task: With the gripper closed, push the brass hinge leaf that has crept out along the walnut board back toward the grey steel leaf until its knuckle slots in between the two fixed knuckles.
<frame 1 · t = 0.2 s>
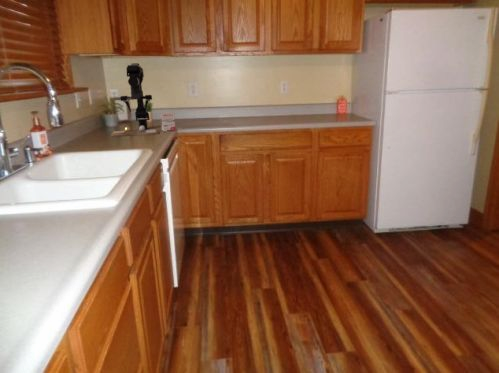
hand: (138, 111, 238), 14 cm above the countertop, tool pointing down, fingers open, 9 cm apart
hinge board: (136, 134, 244), on the countertop
loose leaf: (121, 130, 242), point 3 cm above the countertop, slide at 9.0 cm
ink box: (168, 130, 256), on the countertop
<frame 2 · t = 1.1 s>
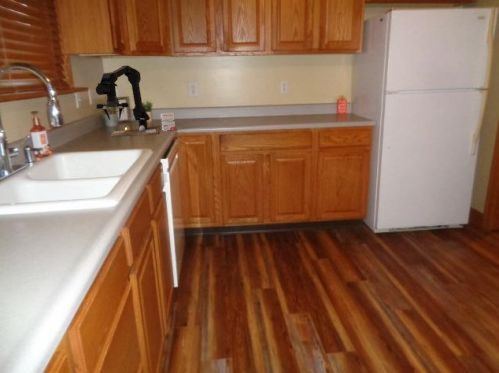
hand: (114, 119, 239), 10 cm above the countertop, tool pointing down, fingers open, 6 cm apart
nothing on the countertop moved.
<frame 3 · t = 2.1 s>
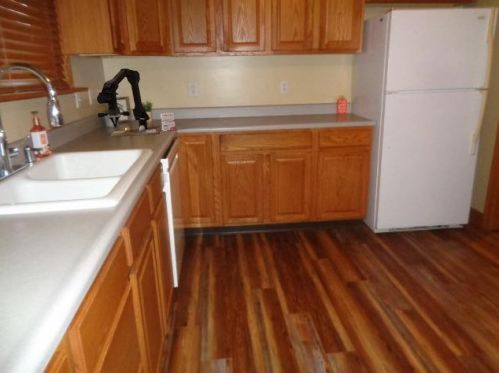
hand: (115, 127, 240), 5 cm above the countertop, tool pointing down, fingers closed
nothing on the countertop moved.
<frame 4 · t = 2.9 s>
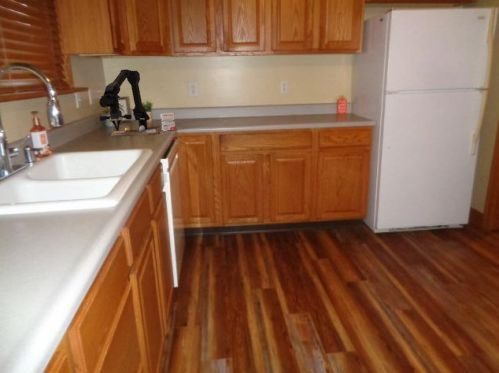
hand: (117, 131, 241), 3 cm above the countertop, tool pointing down, fingers closed
nothing on the countertop moved.
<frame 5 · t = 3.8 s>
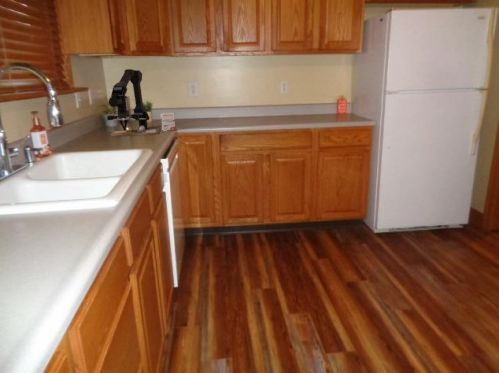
hand: (124, 130, 242), 3 cm above the countertop, tool pointing down, fingers closed
loose leaf: (123, 130, 242), point 3 cm above the countertop, slide at 8.1 cm, touching gripper
everything else where it was.
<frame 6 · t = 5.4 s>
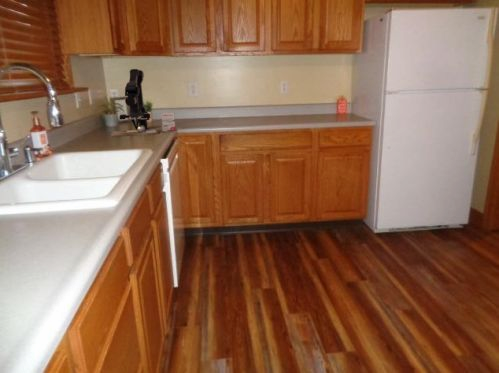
hand: (136, 129, 244), 3 cm above the countertop, tool pointing down, fingers closed
loose leaf: (135, 129, 243), point 3 cm above the countertop, slide at 0.9 cm, touching gripper
everything else where it was.
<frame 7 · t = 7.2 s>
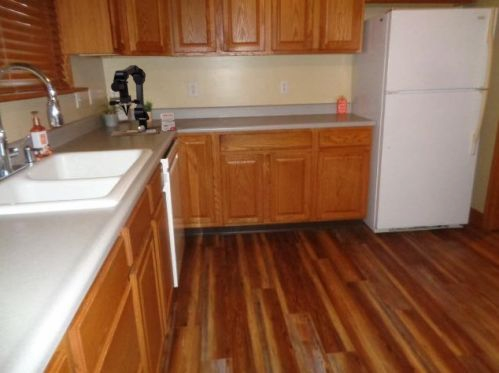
hand: (126, 115, 244), 12 cm above the countertop, tool pointing down, fingers closed
loose leaf: (135, 129, 243), point 3 cm above the countertop, slide at 0.7 cm
everything else where it was.
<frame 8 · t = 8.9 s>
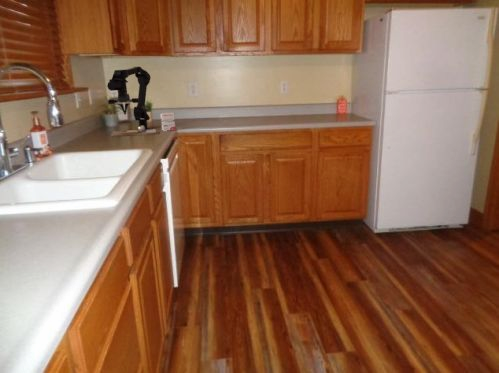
hand: (125, 114, 249), 12 cm above the countertop, tool pointing down, fingers closed
nothing on the countertop moved.
at the end: loose leaf slide at 0.7 cm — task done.
